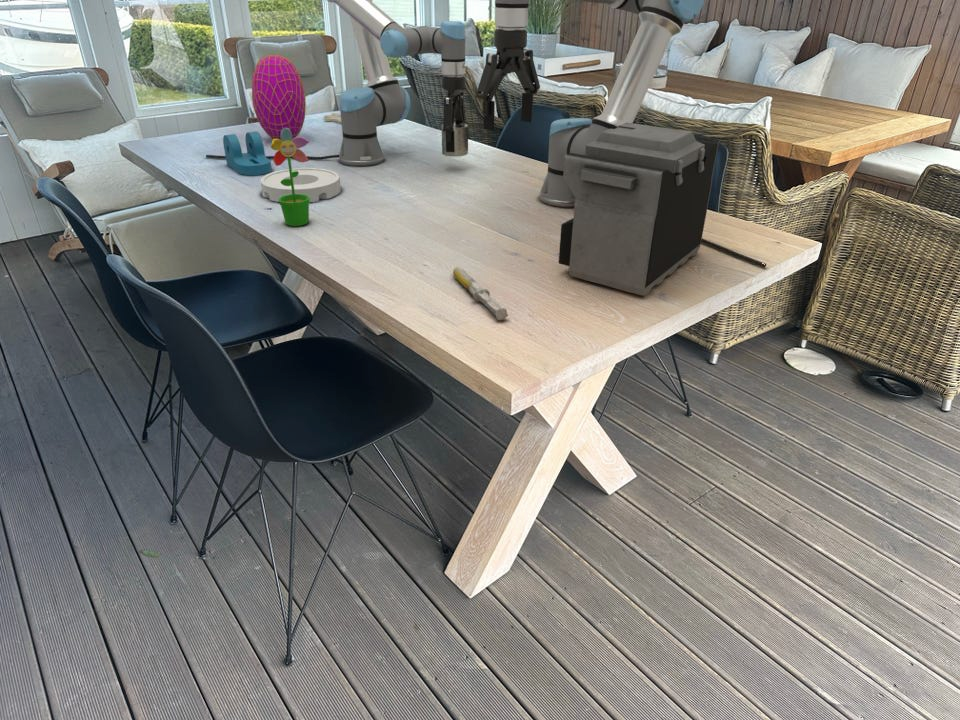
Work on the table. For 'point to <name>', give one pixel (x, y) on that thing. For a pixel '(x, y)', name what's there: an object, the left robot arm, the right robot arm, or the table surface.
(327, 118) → the decorative sign
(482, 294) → the syringe
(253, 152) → the camera mount
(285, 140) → the potted flower
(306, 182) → the white notched ring base
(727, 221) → the table surface
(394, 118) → the left robot arm
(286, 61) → the decorative egg
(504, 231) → the table surface
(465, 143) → the can
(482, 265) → the table surface
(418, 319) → the table surface
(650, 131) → the grey cooler box
